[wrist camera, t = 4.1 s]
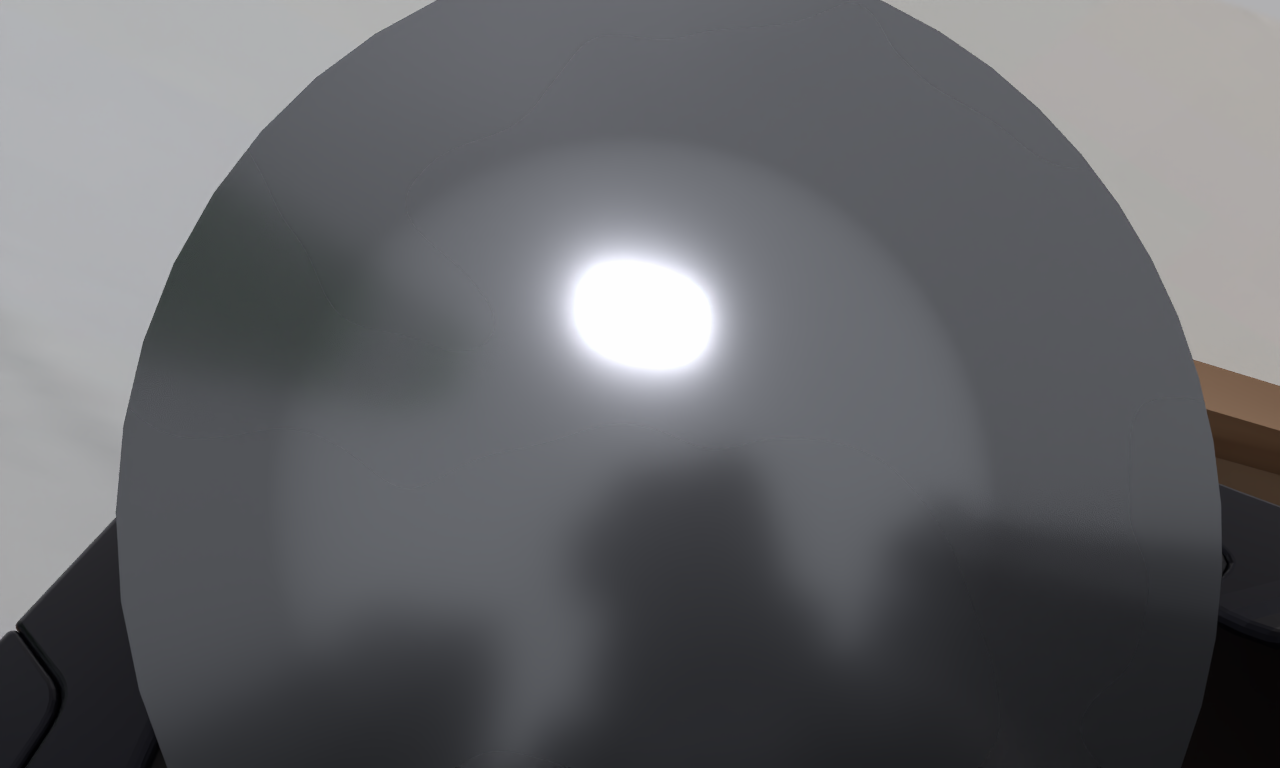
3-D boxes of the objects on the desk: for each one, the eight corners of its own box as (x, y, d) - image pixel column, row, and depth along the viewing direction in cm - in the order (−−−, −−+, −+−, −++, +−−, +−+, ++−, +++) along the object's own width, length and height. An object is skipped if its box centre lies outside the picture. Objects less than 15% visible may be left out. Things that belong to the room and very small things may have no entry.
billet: (686, 502, 16) (1371, 427, 4) (521, 705, 14) (839, 1405, 3) (501, 336, 15) (682, -234, 4) (318, 529, 14) (-221, 536, 3)
